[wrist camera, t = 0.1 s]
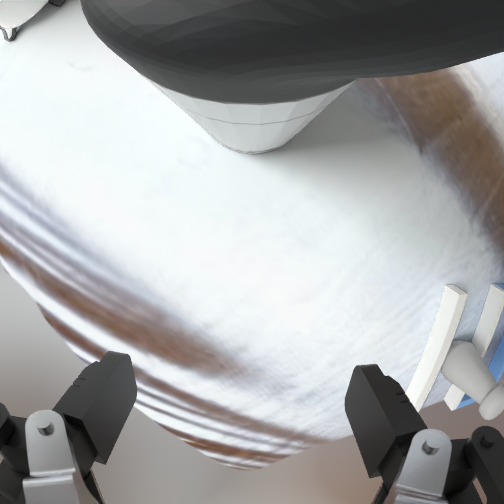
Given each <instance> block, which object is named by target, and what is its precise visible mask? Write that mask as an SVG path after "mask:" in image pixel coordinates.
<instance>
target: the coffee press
mask: <svg viewBox="0 0 504 504" xmlns="http://www.w3.org/2000/svg"><path fill="white" fill-rule="evenodd" d="M64 1H65V0H0V27H2V28H5V29H12V36H11V38H10V39H8V36H7V32H6V31H5V30H4V29H2V28H0V29H1V30H2V31H3V34H4V39H5V40H6V41H9V42H11V41H13V40H14V39H15V37H16V28H17V27H18V26H20V25H22V24H23V23H25V22H26V21H28V20H29V19H30V18H31V17H33V16H34V15H35V14H36V13H37V12H38V11H39V10H40V9H41V8H42V7H43V6H44V5H45V4H46V3H50V4H53V5H55V6H57V7H60V6H61V5H62V4H63V2H64Z"/></svg>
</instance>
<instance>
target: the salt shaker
mask: <svg viewBox="0 0 504 504" xmlns="http://www.w3.org/2000/svg"><path fill="white" fill-rule="evenodd" d="M441 373H442V374H443V376H444V377H445V378H446V379H447V380H448V381H450V382H451V383H452V384H454V385H455V386H456V387H458V388H459V389H460V390H462V391H463V392H464V393H466V394H467V395H468V396H470V397H471V398H472V399H474V400H475V401H476V402H477V403H479V404H480V408H479V412H480V414H481V415H482V417H483V418H484V419H485V420H491V419H493V418H495V417H496V416H497V415H499V414H500V413H501V412H502V411H503V409H504V385H499V386H498V384H497V382H496V380H495V379H494V377H493V375H492V374H491V372H490V370H489V368H488V367H487V365H486V364H485V362H484V360H483V359H482V357H481V356H480V354H479V352H478V351H477V349H476V348H475V346H474V345H473V344H472V343H471V342H467V341H462V340H454V341H452V342H451V345H450V348H449V350H448V352H447V355H446V357H445V360H444V362H443V364H442V366H441Z"/></svg>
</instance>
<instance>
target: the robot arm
mask: <svg viewBox="0 0 504 504" xmlns="http://www.w3.org/2000/svg"><path fill="white" fill-rule="evenodd" d="M81 5H82V9H83V12H84V15H85V17H86V19H87V21H88V23H89V25H90V26H91V28H92V29H93V31H94V32H95V34H96V35H97V36H98V37H99V38H100V39H101V40H102V41H103V42H104V43H105V44H106V45H107V46H108V47H109V48H110V49H111V50H112V51H113V52H114V53H116V54H117V55H118V56H119V57H121V58H122V59H123V60H124V61H126V62H127V63H128V64H129V65H130V66H132V67H133V68H134V69H135V70H137V71H138V72H139V73H140V74H141V75H142V76H143V77H145V78H146V79H147V80H148V81H149V82H151V83H152V84H153V85H154V86H155V87H156V88H158V89H159V90H160V91H161V92H162V93H163V94H165V95H166V96H167V97H169V98H170V99H171V100H172V101H173V102H174V103H175V104H176V105H178V106H179V107H180V108H181V109H182V110H183V111H184V112H185V113H187V114H188V115H189V116H190V117H191V118H192V119H193V120H194V121H195V122H197V123H198V124H199V125H200V126H201V127H202V128H203V129H204V130H205V131H206V132H207V133H208V134H210V135H211V136H212V137H213V138H214V139H215V140H216V141H217V142H218V143H220V144H222V145H223V146H225V147H227V148H228V149H231V150H234V151H237V152H241V153H248V154H257V153H264V152H269V151H272V150H275V149H277V148H279V147H281V146H283V145H284V144H285V143H287V142H288V141H289V140H291V139H292V138H293V137H294V136H295V135H296V134H297V133H299V132H300V131H301V130H302V129H303V128H304V127H305V126H306V125H307V124H308V123H309V122H311V121H312V120H313V119H314V118H315V117H316V116H317V115H318V114H319V113H320V112H322V111H323V110H324V109H325V108H326V107H327V106H328V105H329V104H331V103H332V102H333V101H334V100H335V99H336V98H337V97H338V96H340V95H341V94H342V93H343V92H344V91H345V90H346V89H347V88H348V87H350V86H351V85H352V84H353V83H354V82H355V81H357V80H358V79H359V78H375V77H392V76H402V75H413V74H419V73H425V72H431V71H435V70H439V69H444V68H448V67H452V66H456V65H459V64H462V63H466V62H470V61H473V60H477V59H480V58H483V57H486V56H490V55H493V54H497V53H501V52H504V0H81ZM136 397H137V385H136V381H135V376H134V372H133V367H132V362H131V358H130V356H129V355H128V354H124V353H118V352H113V351H108V352H107V353H106V354H105V356H104V357H103V358H102V359H101V361H100V362H97V361H95V362H94V363H92V364H91V365H89V366H87V367H86V368H85V369H84V370H83V371H82V372H81V374H80V375H79V376H78V378H77V379H76V380H75V381H74V383H73V385H71V386H70V388H69V389H68V390H67V391H66V393H65V394H64V395H63V396H62V398H61V399H60V400H59V402H58V403H57V404H56V406H55V407H54V408H53V409H52V411H51V410H41V411H37V412H35V413H33V414H32V415H31V416H30V417H29V418H28V419H27V418H21V417H15V416H11V415H10V414H9V412H8V410H7V409H6V407H5V406H4V405H3V404H2V403H0V454H1V455H2V457H3V458H4V459H3V461H2V462H1V464H0V504H106V503H105V500H104V498H103V496H102V493H101V491H100V488H99V486H98V483H97V481H96V478H95V475H94V473H93V470H92V468H91V467H92V465H93V462H94V461H96V462H99V463H102V464H105V465H106V463H107V460H108V458H109V456H110V454H111V452H112V450H113V447H114V445H115V443H116V441H117V439H118V437H119V434H120V432H121V430H122V428H123V426H124V423H125V421H126V420H127V417H128V415H129V413H130V411H131V409H132V407H133V405H134V403H135V401H136ZM345 411H346V414H347V417H348V420H349V422H350V425H351V428H352V431H353V433H354V436H355V438H356V442H357V444H358V447H359V450H360V453H361V455H362V458H363V461H364V464H365V467H366V469H367V473H368V475H369V478H373V477H378V476H381V477H382V479H383V482H382V483H381V485H380V487H379V489H378V491H377V493H376V495H375V497H374V499H373V501H372V503H371V504H483V503H482V501H481V499H480V497H479V495H478V492H477V490H476V488H475V486H474V484H473V481H474V480H475V479H476V478H478V480H479V482H480V484H481V486H482V488H483V490H484V492H485V494H486V497H487V504H504V438H503V436H502V435H501V434H500V432H499V431H498V430H496V429H495V428H493V427H490V426H481V427H479V428H477V429H476V430H475V431H474V432H473V433H472V435H471V436H470V438H468V439H456V440H450V439H449V437H448V436H447V435H446V434H444V433H443V432H441V431H439V430H435V429H428V428H427V426H426V425H425V423H424V421H423V420H422V418H421V417H420V415H419V413H418V412H417V410H416V409H415V407H414V406H413V404H412V403H411V402H410V399H409V398H408V396H407V395H406V394H405V392H404V390H403V389H402V387H401V386H400V384H399V383H398V382H397V381H395V380H394V379H393V378H391V377H390V376H384V374H383V373H382V371H381V370H380V368H379V366H378V365H377V364H369V365H357V366H356V367H355V368H354V370H353V374H352V377H351V380H350V384H349V387H348V390H347V393H346V397H345Z"/></svg>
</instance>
